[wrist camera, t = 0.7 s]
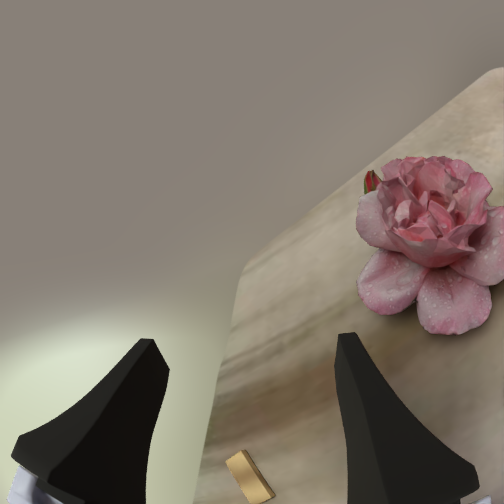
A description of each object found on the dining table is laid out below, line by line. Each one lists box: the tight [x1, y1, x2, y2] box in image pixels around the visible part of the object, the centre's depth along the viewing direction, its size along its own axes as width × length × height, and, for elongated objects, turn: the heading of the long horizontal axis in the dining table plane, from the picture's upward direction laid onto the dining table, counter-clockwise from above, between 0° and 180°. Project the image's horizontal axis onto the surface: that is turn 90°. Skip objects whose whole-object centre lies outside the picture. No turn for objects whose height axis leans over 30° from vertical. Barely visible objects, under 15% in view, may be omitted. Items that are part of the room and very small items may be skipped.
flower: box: [356, 156, 504, 335], centre depth 18 cm, size 15×15×10 cm
